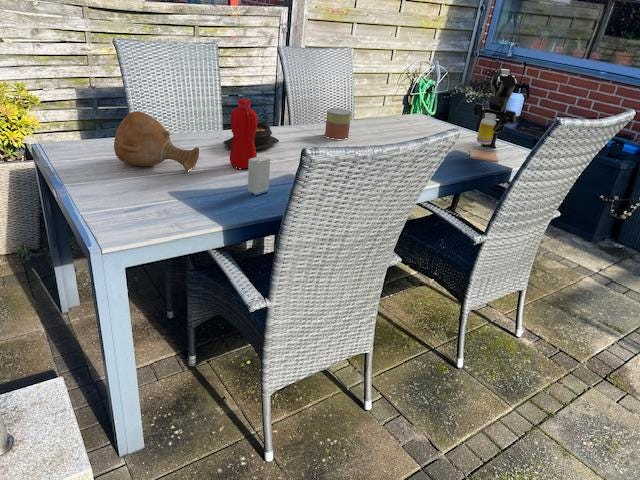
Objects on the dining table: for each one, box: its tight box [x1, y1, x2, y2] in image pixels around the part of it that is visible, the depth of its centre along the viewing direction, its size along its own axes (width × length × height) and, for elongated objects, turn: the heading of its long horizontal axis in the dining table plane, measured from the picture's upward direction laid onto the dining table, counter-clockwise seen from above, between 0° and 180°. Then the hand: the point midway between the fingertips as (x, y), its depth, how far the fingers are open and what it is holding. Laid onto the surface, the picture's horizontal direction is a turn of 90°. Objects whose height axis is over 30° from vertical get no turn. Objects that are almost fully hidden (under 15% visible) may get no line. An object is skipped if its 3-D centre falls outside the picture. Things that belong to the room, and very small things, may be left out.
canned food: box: [324, 107, 352, 139], centre depth 233 cm, size 11×11×12 cm
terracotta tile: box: [468, 148, 499, 163], centre depth 228 cm, size 12×12×1 cm
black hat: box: [223, 122, 280, 150], centre depth 211 cm, size 25×19×8 cm
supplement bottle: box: [476, 113, 496, 145], centre depth 222 cm, size 7×7×13 cm
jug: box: [113, 110, 200, 173], centre depth 178 cm, size 20×19×30 cm
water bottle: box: [229, 98, 259, 168], centre depth 183 cm, size 9×11×25 cm
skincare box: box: [247, 155, 271, 193], centre depth 165 cm, size 6×4×12 cm
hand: (486, 128), depth 221 cm, fingers closed on supplement bottle, 7 cm apart
